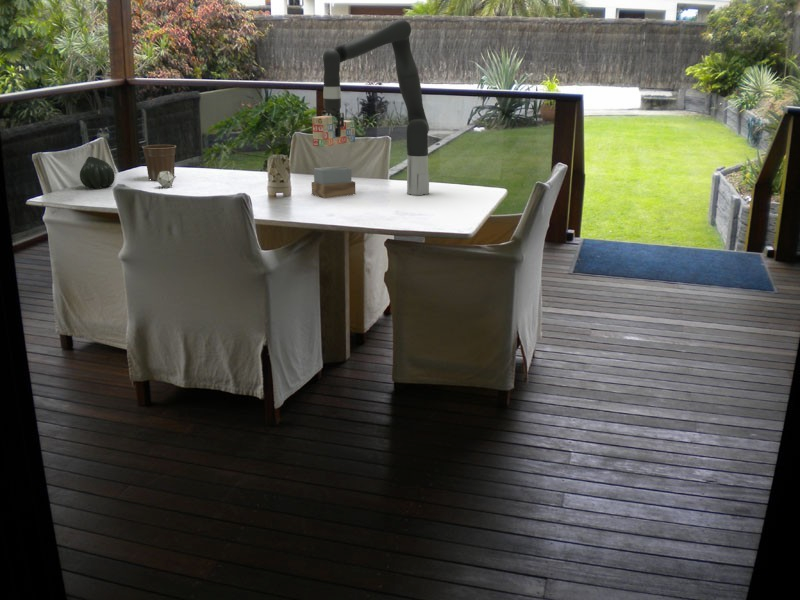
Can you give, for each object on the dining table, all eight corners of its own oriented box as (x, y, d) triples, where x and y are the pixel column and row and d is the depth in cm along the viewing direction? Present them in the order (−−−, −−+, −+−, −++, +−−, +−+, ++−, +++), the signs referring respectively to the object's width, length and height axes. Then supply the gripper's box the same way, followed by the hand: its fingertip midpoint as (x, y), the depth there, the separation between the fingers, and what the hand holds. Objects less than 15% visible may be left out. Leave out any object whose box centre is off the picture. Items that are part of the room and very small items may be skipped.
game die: (162, 195, 395) (147, 178, 392) (172, 186, 402) (158, 169, 398) (173, 188, 390) (158, 170, 387) (183, 178, 396) (168, 161, 393)
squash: (123, 176, 392) (108, 149, 395) (94, 181, 381) (78, 154, 384) (113, 193, 402) (98, 167, 404) (84, 199, 391) (69, 172, 393)
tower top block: (351, 182, 377) (351, 168, 375) (322, 184, 370) (322, 171, 369) (342, 179, 384) (342, 166, 383) (314, 181, 378) (313, 168, 376)
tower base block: (355, 195, 380) (355, 181, 378) (325, 199, 371) (324, 185, 369) (341, 191, 388) (341, 178, 386) (311, 195, 379) (311, 182, 377)
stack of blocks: (344, 141, 383) (344, 113, 380) (355, 141, 380) (354, 113, 376) (312, 145, 367) (311, 116, 363) (323, 146, 363) (322, 117, 360)
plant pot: (152, 176, 426) (150, 143, 421) (183, 177, 424) (181, 144, 419) (139, 181, 411) (136, 147, 406) (170, 182, 408) (168, 148, 404)
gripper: (348, 97, 364) (349, 137, 368) (329, 96, 374) (330, 134, 379) (334, 98, 359) (335, 138, 364) (315, 96, 370) (316, 135, 375)
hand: (332, 136), depth 372 cm, fingers closed on stack of blocks, 7 cm apart
